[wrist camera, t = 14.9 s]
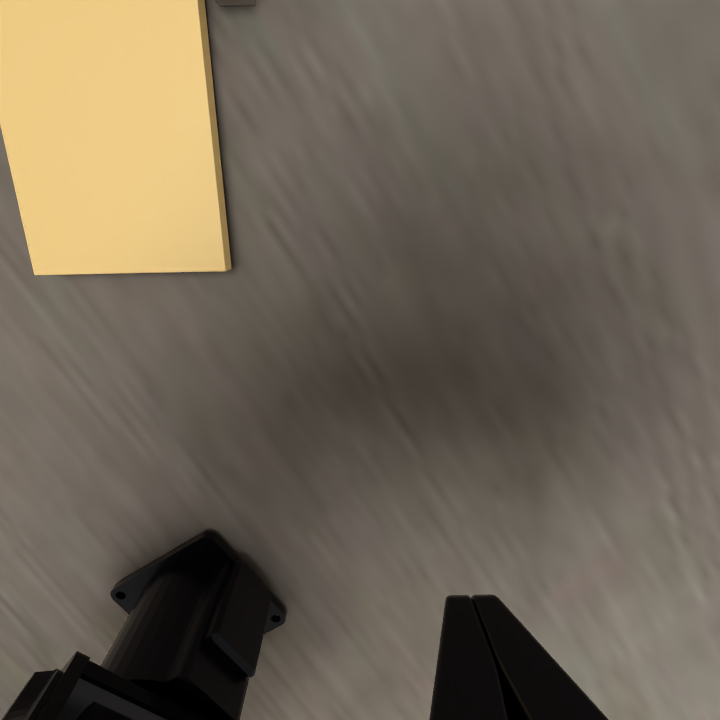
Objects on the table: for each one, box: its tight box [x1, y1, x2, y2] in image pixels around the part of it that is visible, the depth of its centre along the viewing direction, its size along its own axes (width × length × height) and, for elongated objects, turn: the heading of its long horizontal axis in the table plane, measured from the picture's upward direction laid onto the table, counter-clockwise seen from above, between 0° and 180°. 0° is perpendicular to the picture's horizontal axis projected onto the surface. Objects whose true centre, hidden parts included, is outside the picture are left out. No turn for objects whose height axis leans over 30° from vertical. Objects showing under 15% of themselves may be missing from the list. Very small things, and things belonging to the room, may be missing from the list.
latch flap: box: [0, 0, 231, 275], centre depth 15 cm, size 9×7×1 cm
